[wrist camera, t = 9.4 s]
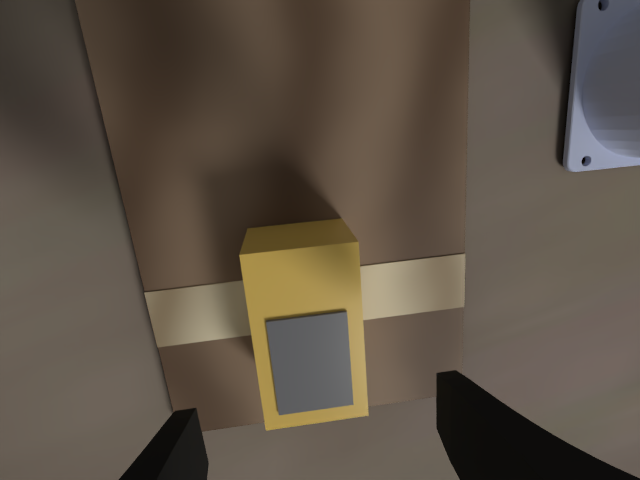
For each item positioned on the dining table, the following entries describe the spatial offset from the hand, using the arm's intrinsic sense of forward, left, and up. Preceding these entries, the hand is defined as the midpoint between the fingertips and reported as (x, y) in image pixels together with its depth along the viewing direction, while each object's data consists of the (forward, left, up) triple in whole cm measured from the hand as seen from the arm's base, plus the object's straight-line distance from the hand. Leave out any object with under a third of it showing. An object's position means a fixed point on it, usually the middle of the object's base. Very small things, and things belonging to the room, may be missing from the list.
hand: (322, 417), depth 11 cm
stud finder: (0, 0, -8) cm, 8 cm away
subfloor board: (0, -5, -9) cm, 11 cm away
